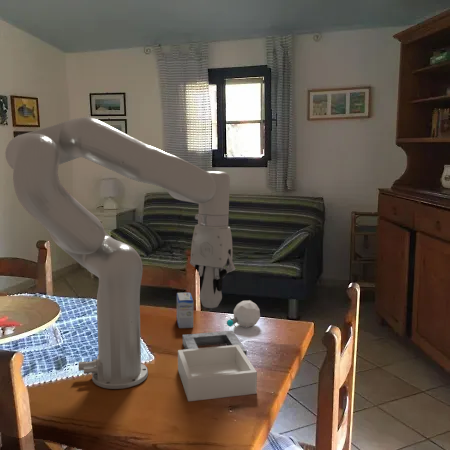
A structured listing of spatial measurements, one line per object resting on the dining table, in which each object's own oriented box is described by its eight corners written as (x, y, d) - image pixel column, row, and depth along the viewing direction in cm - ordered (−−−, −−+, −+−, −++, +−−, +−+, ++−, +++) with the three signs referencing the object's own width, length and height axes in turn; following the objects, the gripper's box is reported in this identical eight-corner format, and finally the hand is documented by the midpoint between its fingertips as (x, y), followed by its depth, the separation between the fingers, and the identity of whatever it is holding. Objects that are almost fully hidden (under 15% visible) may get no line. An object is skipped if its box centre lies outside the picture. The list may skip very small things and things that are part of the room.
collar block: (191, 365, 118) (191, 356, 118) (182, 343, 132) (182, 334, 132) (246, 360, 122) (246, 351, 121) (232, 339, 135) (232, 330, 135)
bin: (188, 401, 102) (188, 379, 101) (177, 369, 116) (177, 350, 115) (256, 393, 105) (256, 371, 105) (238, 363, 120) (238, 344, 119)
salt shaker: (226, 307, 124) (228, 257, 122) (206, 310, 120) (208, 259, 119) (213, 301, 128) (215, 252, 127) (195, 304, 125) (196, 254, 123)
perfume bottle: (270, 315, 144) (243, 331, 136) (254, 325, 150) (227, 340, 141) (257, 292, 145) (229, 306, 137) (241, 302, 151) (214, 316, 143)
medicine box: (176, 319, 150) (176, 292, 149) (190, 318, 151) (190, 291, 150) (178, 328, 143) (178, 300, 141) (193, 327, 144) (193, 299, 142)
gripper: (178, 219, 122) (176, 289, 125) (233, 225, 114) (231, 301, 117) (195, 216, 129) (193, 283, 131) (249, 222, 120) (246, 294, 123)
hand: (211, 291), depth 124 cm, fingers closed on salt shaker, 3 cm apart
